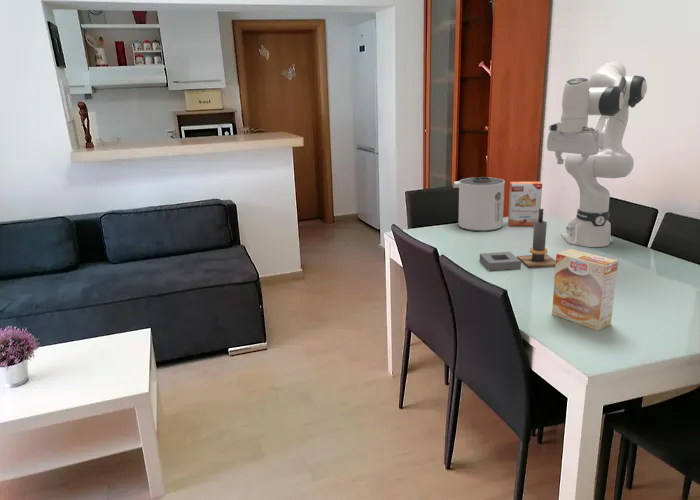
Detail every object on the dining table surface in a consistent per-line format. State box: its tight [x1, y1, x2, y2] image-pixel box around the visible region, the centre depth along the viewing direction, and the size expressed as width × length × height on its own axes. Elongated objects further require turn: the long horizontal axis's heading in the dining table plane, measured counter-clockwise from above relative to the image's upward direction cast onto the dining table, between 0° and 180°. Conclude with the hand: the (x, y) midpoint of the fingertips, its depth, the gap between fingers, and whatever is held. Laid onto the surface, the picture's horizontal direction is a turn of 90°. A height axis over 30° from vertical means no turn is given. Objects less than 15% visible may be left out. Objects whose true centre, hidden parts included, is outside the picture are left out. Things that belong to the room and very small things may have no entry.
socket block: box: [479, 251, 522, 272], centre depth 203 cm, size 12×12×3 cm
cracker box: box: [507, 181, 543, 227], centre depth 253 cm, size 14×6×21 cm, turn 81°
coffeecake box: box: [551, 248, 619, 332], centre depth 152 cm, size 15×7×20 cm, turn 35°
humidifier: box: [452, 176, 506, 232], centre depth 254 cm, size 22×21×23 cm
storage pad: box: [516, 253, 556, 269], centre depth 204 cm, size 12×12×1 cm
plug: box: [529, 208, 549, 262], centre depth 201 cm, size 6×6×20 cm
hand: (570, 165), depth 191 cm, fingers open, 8 cm apart
